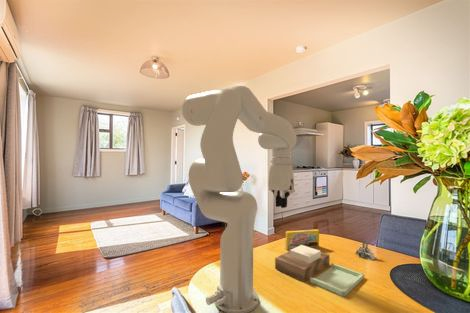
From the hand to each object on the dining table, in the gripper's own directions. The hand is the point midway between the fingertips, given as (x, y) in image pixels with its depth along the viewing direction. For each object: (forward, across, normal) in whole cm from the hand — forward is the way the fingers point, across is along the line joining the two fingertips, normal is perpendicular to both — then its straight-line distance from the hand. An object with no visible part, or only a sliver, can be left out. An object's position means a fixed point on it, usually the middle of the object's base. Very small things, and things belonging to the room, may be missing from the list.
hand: (281, 206), depth 93 cm
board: (+21, +10, 0) cm, 23 cm away
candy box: (+22, 0, +16) cm, 27 cm away
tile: (+17, +11, 0) cm, 20 cm away
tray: (+21, +23, 0) cm, 31 cm away
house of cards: (+22, +21, +25) cm, 39 cm away
